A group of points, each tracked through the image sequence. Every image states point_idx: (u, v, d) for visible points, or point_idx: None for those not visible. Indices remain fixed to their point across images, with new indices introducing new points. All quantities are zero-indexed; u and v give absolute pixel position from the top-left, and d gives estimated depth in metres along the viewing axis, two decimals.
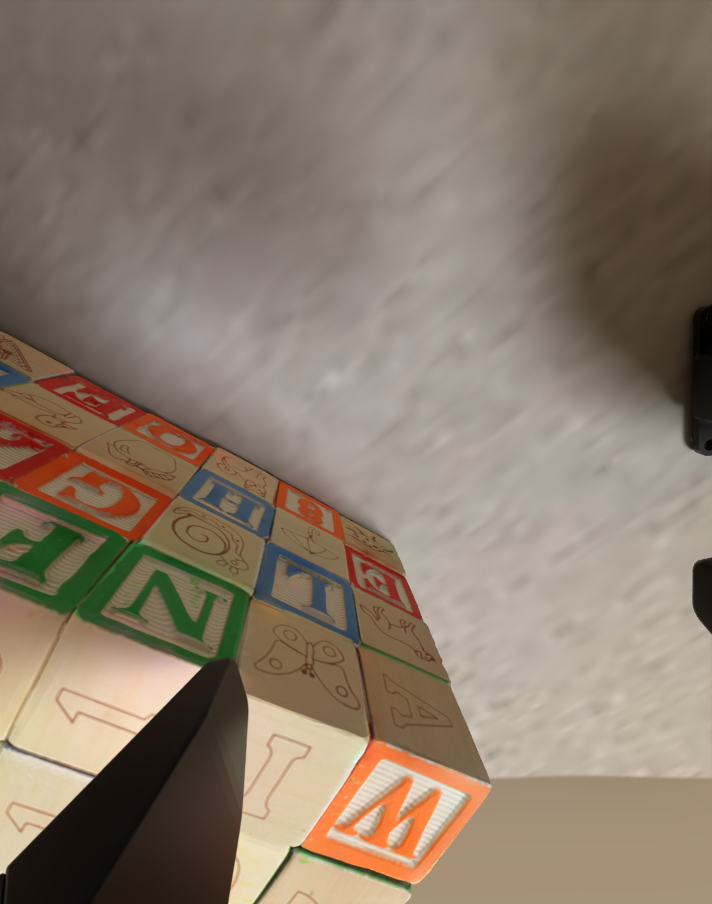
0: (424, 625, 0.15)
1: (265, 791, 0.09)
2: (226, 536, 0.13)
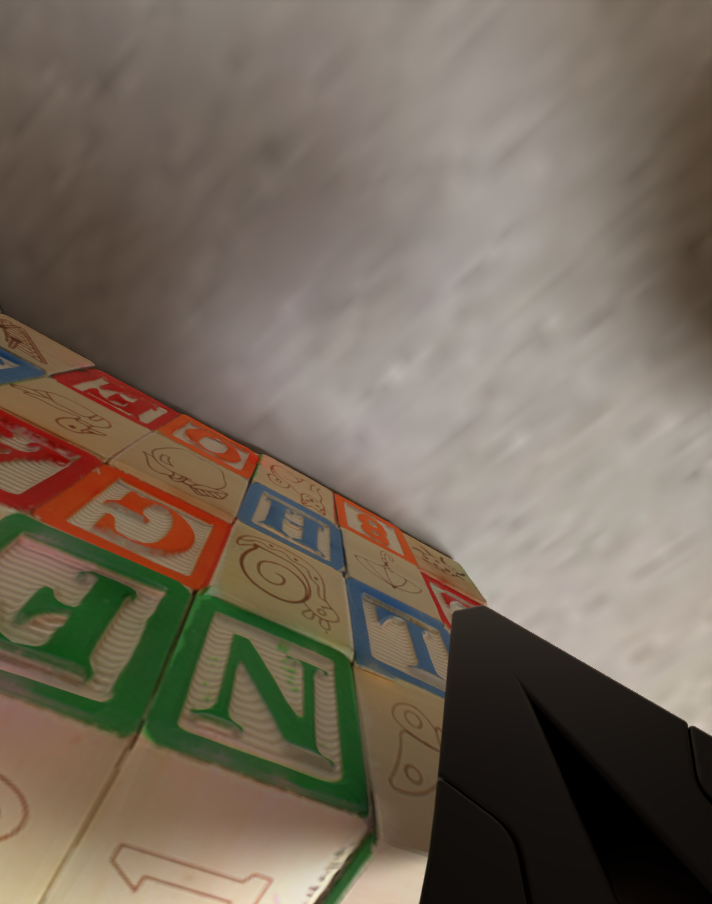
0: None
1: None
2: (302, 574, 0.10)
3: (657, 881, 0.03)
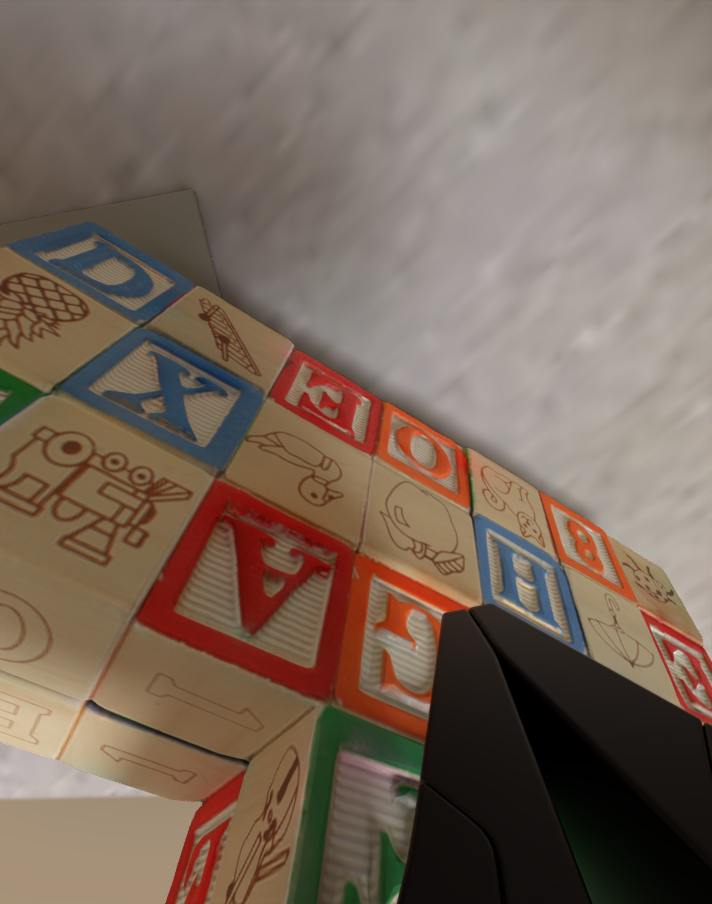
0: None
1: None
2: None
3: (675, 877, 0.03)
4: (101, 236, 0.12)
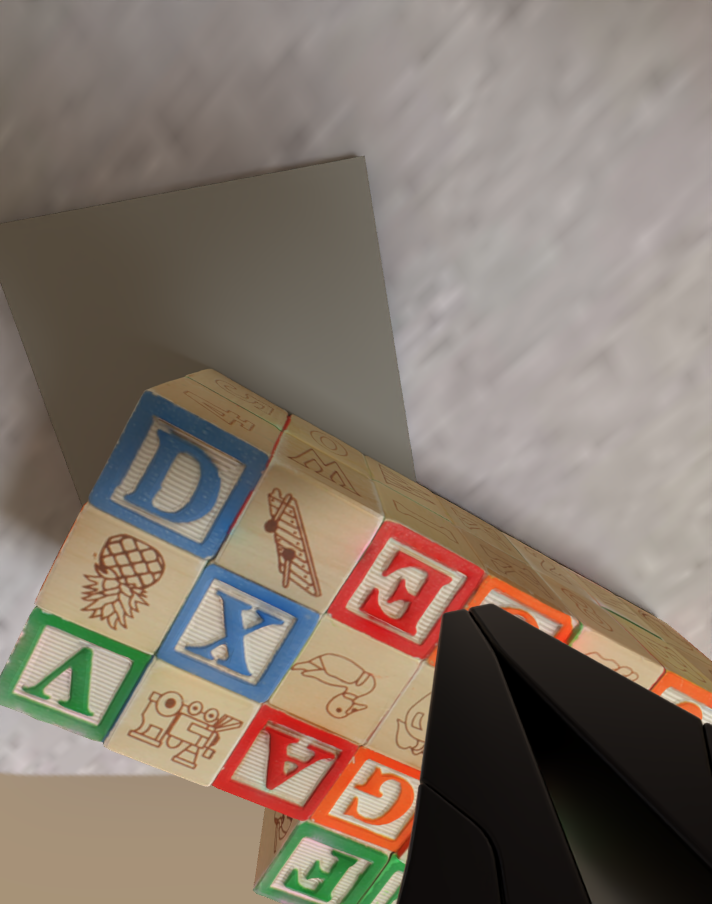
0: None
1: None
2: None
3: (675, 877, 0.03)
4: (161, 418, 0.10)
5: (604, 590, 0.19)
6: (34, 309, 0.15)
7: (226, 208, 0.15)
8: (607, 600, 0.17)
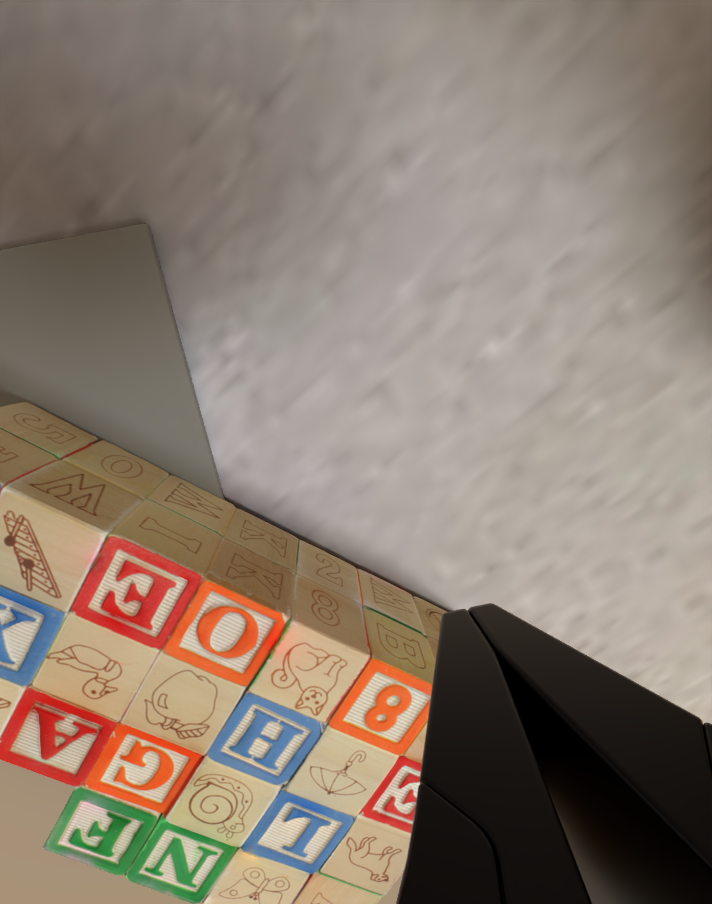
0: None
1: None
2: (236, 800, 0.16)
3: (675, 877, 0.03)
4: None
5: (398, 591, 0.21)
6: None
7: (28, 267, 0.17)
8: (384, 600, 0.20)
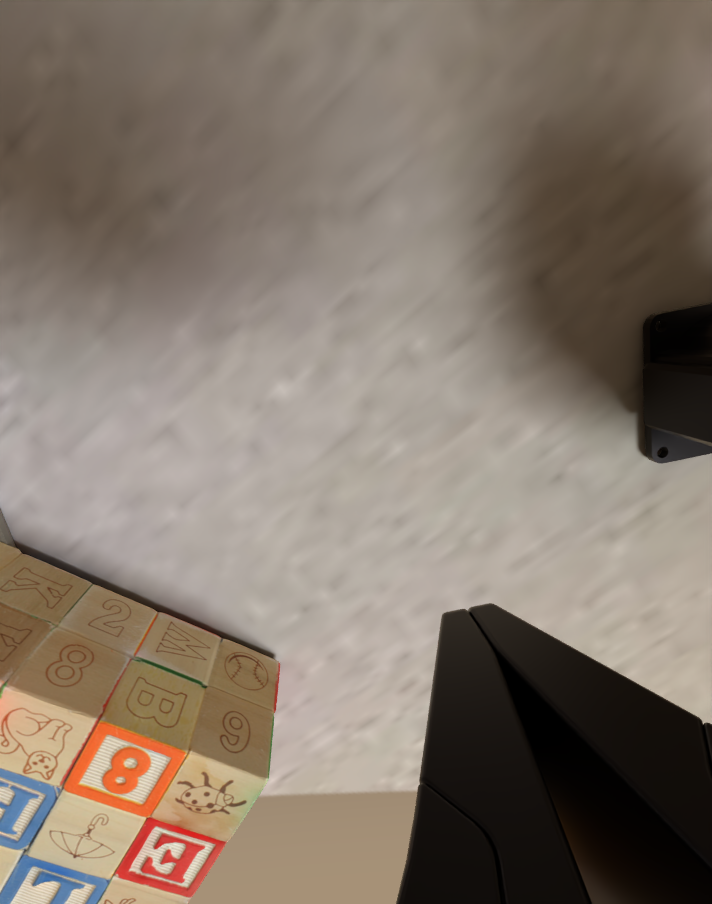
0: None
1: None
2: None
3: (675, 876, 0.03)
4: None
5: (203, 635, 0.21)
6: None
7: None
8: (172, 647, 0.19)
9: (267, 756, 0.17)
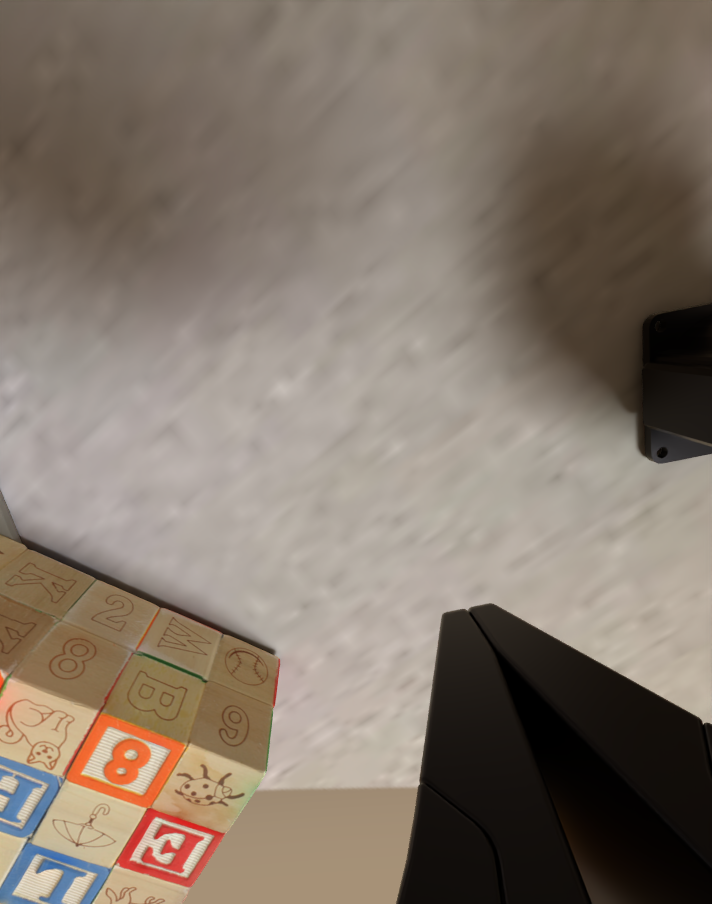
0: (179, 898, 0.17)
1: None
2: None
3: (675, 877, 0.03)
4: None
5: (204, 630, 0.21)
6: None
7: None
8: (174, 642, 0.19)
9: (265, 750, 0.17)
